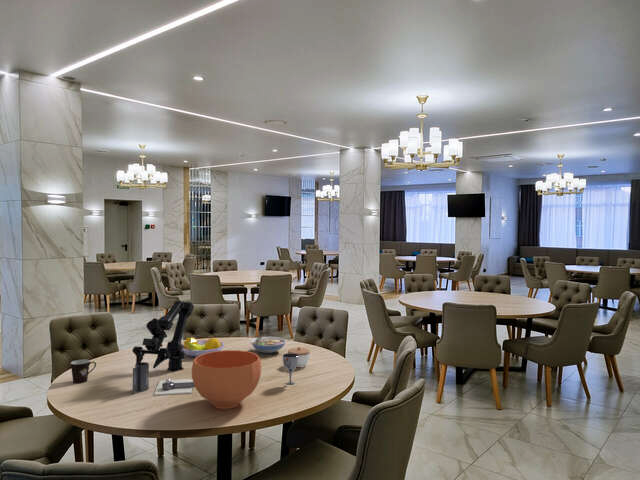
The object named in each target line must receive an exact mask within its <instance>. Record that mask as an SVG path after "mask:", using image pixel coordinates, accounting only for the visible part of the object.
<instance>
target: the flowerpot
mask: <svg viewBox="0 0 640 480" xmlns="http://www.w3.org/2000/svg"><path fill="white" fill-rule="evenodd" d="M261 375H262V361H261V357H260V356H259V355H258V354H257V353H254V352H251V351H246V350H238V349H237V350H235V349H234V350H231V349H230V350H229V349H225V350H221V351H214V352H210V353H205V354H202V355H200V356H197V357H195V358H194V359H193V361H192V367H191V379H193V383H194V386H195V387H194V388H195V389H196V391H197V392H198V394H199V396H200V397H202V398H203V399H205V400H206V401H208V402H210V403H211V404H213V406H214V407H215V408H217V409H220V410H228V409H229V410H230V409H233V408H236V407H238V406H239V405H240V403H241V402H242V401H243V400H245V399H246V398H248V397H249V396H250V395H252V393H253V392H254V390H255V389H256V388H257V387H258V384H259V381H260V378H261Z"/></svg>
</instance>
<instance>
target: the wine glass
mask: <svg viewBox="0 0 640 480" xmlns="http://www.w3.org/2000/svg"><path fill="white" fill-rule="evenodd" d="M282 363H283V364H282V365H283V367H284V368H285V369H286V371H287V372H288V374H289V381H288V383H287V382H284V383H285V384H286V385H294V384H295V383H296V382H294V381H292V375H293V372H294V370H296V367H297V365H298V354H295V353H288V352H287V353H286V352H285V353H284V354H282ZM293 382H294V383H293Z"/></svg>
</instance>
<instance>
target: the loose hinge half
mask: <svg viewBox="0 0 640 480" xmlns="http://www.w3.org/2000/svg"><path fill="white" fill-rule="evenodd" d="M149 365H150V363H149V362H146V361H143V362H142V361H141V363H137V364H136V363H135V364H134V367H133V368H132V395H135V394H136V393H138V392H147V391H148V390H149V388H150V387H149V386H150V385H149V384H150V380H149V378H150V377H149V376H150V373H149V371H150V366H149Z"/></svg>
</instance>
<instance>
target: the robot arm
mask: <svg viewBox="0 0 640 480" xmlns="http://www.w3.org/2000/svg"><path fill="white" fill-rule="evenodd" d="M194 305H195V304H193V303H192V302H189V301H183V300H176V301H174V302H173V305H172V306H170V307H171V308H170V309H169V310H168V311H167V313H166V314H165V315H163V316H161V317H159V318H157V317H156V318H155V317H153V319H152V320H149V321H148V322H147V323H146V325H145V326H146V329H147V330H148V331H149V333H150V335H151V336H152V337H151V338H146V337H145V338H143V340H142V346H133V348H132V349H131V351H132V353H133V354H134V355H135V356H136V358H135V364H137V363H141V362H142V361H143V359H144V357H145V355H157V356H156V359H155V361H154V363H153V366H152V368H153V369H156V368H157V367H158V366H159V365H160V364H161V363H163V362H165V361H166V360H168V363H167V364H168V366H167V370H169V371H171V372H177V371H180V370H184V367H183V361H182V360H184V359H185V355H186V353H184V352H183V350H182V348H183V347H182V345H183V344H182V339H183V335H184V334H185V333H184V332H185V328H186V324H187V321H188V318H189V317H190V316H191V315H192V313H193V310H194V309H195V308H194ZM177 316H178V318H177V322H176V325H175V329H174V332H173V336H172V339H171V341H168V342H167V345H166V347H163V345H164V344H163V343H164V340H165V338H167V337H168V334H167V332H166V331H170V330H171V328H172V327H173V325H174V323H173V322H174V320H175V319H176V317H177ZM143 346H144V348H145V349H144V348H143Z"/></svg>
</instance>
